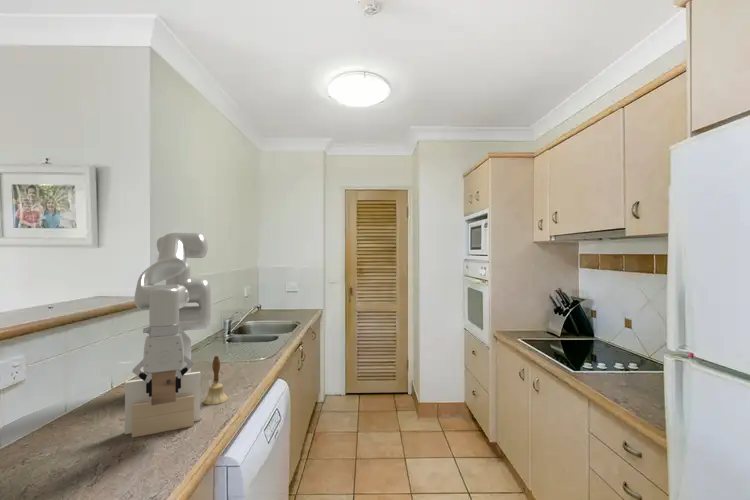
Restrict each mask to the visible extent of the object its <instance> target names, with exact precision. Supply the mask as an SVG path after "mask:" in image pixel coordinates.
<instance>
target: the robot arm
mask: <svg viewBox="0 0 750 500" xmlns="http://www.w3.org/2000/svg"><path fill="white" fill-rule="evenodd" d="M208 245H209V244H208V241H207V238H206V236H205V235H204V234H201V233H199V232H198V233H197V232H170V233H166V234H165V235H164V236H161V237H159V238H158V239H157V240H156V249H157V252H158V258H157V261H156V262H155V263H153V264H151V265H150V266H148V267H147V268H146V269H145V270H143V272H141V274H140V275H139V278H138V280H137V282H136V283H137V284H136V287H135V291H134V306H135V307H136V308H137V309H138V310H140V311H149V313H148V314H149V315H148V316H149V317H148V320H149V321H148V323H149V324H148V326H147V327H143V329H142V331H143V334H148V336H146V337H145V339H144V340H145V341H144V347H143V359H142V360H141V361H140V362H139V363H138V364H136V365H135V367H134V368H132V373H133V374H134V375H135V376H137V377H138V378H139V379H142V380H144V381H145V382H146V393H149V397H151V396H152V379H151V378H152V373H159V372H167V371H176V390H175V392H176V393H178V389H180V388H181V378H182V376H183V375H184V374H186V373H192V367H194V364H195V363H194V360H192V340H191V338H190V337H189V335H188V334H187V333H185V331H186V332H187V331H196V330H205V329H208V328H209V327H210V325H211V318H212V316H211V315H212V314H211V311H212V310H211V307H212V305H211V302H212V301H211V300H212V299H211V295H212V294H211V293H212V291H211V285H210V282H209V281H208V280H207V279H205V278H192V277H191V266H190V264H189V263H188V262H187V259H203V258H205V257H206V255H207V253H208V247H209V246H208ZM163 281H165V284H158V283H160V282H163ZM190 303H191V304H192V303H194V304H195V303H196V304H198V305H186V304H190ZM141 369H142V370H143V371H142V370H141Z"/></svg>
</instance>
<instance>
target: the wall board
mask: <svg viewBox="0 0 750 500" xmlns="http://www.w3.org/2000/svg"><path fill="white" fill-rule="evenodd" d="M151 379H152V377H151ZM124 394H125V395H124V435H129V434H131V438H137V437H142V436H149V435H153V434H158V433H163V432H169V431H174V430H178V429H183V428H184V429H185V428H189V427H194V424H195V422H199V421H201V371H194V372H193V371H192V372H191V373H186V374H184V375H183V376H182V378H181V388H180V389H178V393H176V402H171V403H164V404H158V405H152V396H151V397H149V393H146V382H145V381H144V380H142V379H141V378H139V379H134V380H133V379H132V380H126V381H125V384H124Z"/></svg>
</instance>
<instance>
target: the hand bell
mask: <svg viewBox="0 0 750 500" xmlns="http://www.w3.org/2000/svg"><path fill="white" fill-rule="evenodd" d="M220 369H221V361H220V358H219V355H215V356H214V357H213V360H212V371H213V383H212V384H210V385H209V389H208V392H207V395H206V397H205V398H204V399H203V400H202V403H203V404H204V405H209V406H213V405H214V406H216V405H221V404H225V403H226V402H227V401H228V400H229V397H228V396H227V394H225V392H224V388H223V387H224V386H223V384H222V383H220V382H219V381H220V380H219V379H220V376H219V373H220Z"/></svg>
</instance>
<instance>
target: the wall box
mask: <svg viewBox="0 0 750 500" xmlns="http://www.w3.org/2000/svg"><path fill="white" fill-rule="evenodd" d="M151 378H152V405H158V404H164V403H171V402H176V392H175V390H176V371H167V372H159V373H152V377H151Z"/></svg>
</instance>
